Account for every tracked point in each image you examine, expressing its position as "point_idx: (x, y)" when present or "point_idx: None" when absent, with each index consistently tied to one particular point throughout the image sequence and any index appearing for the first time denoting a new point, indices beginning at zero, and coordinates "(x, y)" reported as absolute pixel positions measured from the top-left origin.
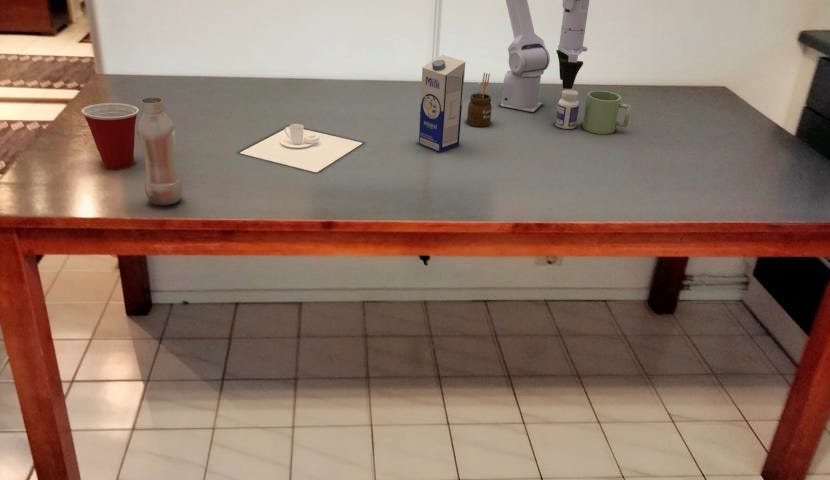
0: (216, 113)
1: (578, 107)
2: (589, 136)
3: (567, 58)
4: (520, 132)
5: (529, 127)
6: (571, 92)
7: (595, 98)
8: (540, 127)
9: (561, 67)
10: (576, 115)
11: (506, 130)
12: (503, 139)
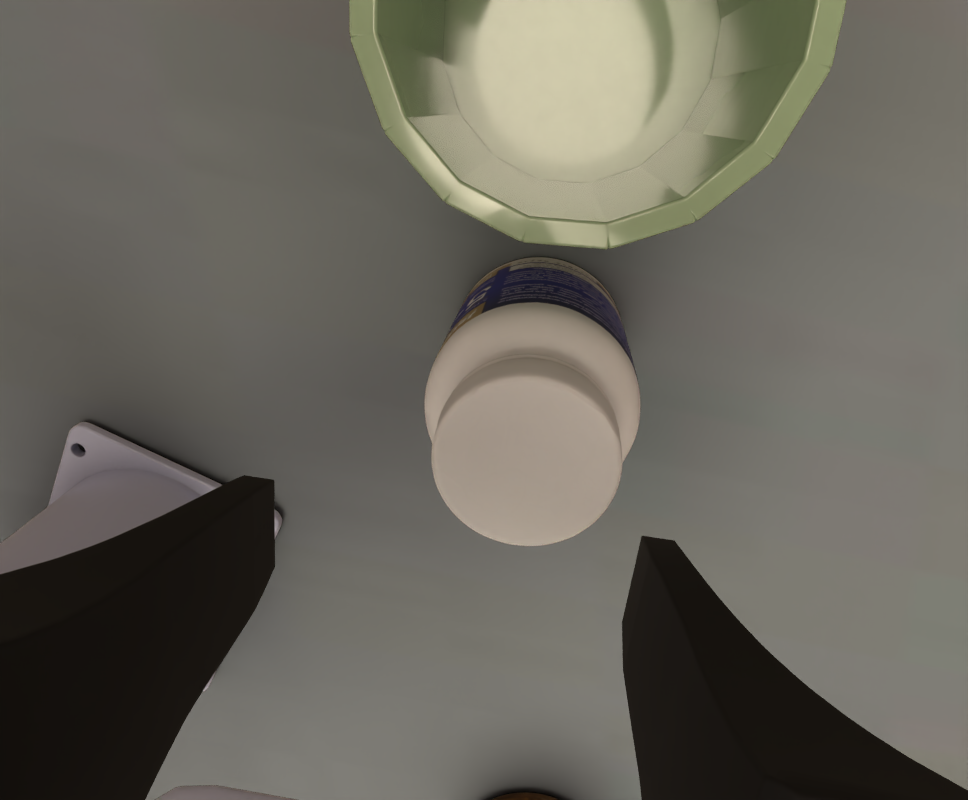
0: None
1: (588, 313)
2: (781, 186)
3: (99, 745)
4: None
5: (583, 591)
6: (544, 457)
7: (720, 177)
8: None
9: (193, 682)
10: (602, 305)
11: None
12: None
